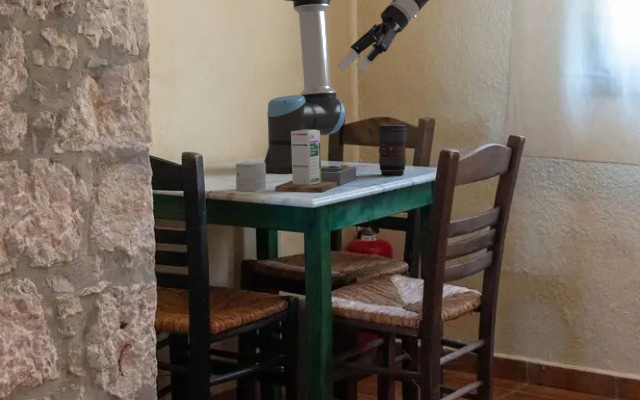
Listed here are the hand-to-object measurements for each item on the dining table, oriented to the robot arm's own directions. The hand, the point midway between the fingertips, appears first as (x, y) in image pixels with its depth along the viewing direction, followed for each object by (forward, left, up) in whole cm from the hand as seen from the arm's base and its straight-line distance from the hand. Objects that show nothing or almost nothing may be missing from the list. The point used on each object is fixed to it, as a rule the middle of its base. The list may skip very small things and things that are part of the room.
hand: (349, 68), depth 259 cm
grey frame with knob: (-7, +1, -32) cm, 33 cm away
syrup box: (-8, -14, -31) cm, 35 cm away
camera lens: (+7, +21, -32) cm, 39 cm away
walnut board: (-8, -15, -32) cm, 36 cm away
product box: (-22, -20, -32) cm, 44 cm away
